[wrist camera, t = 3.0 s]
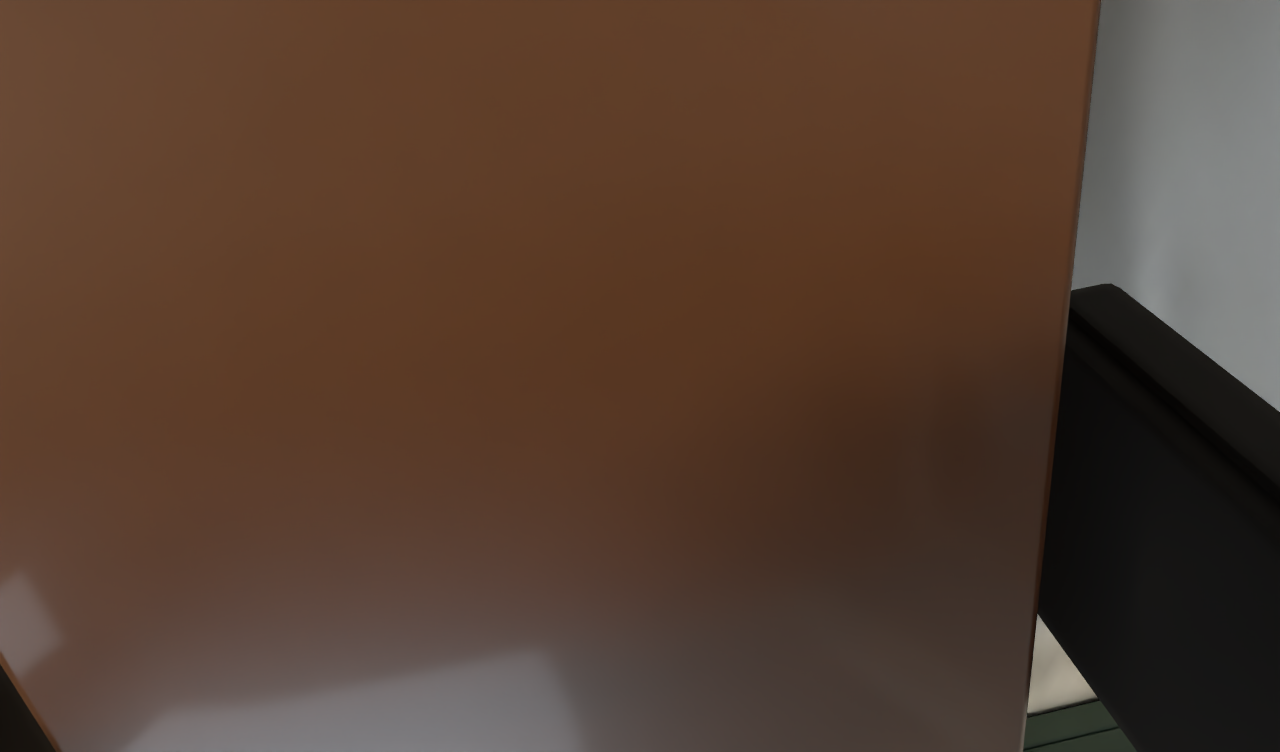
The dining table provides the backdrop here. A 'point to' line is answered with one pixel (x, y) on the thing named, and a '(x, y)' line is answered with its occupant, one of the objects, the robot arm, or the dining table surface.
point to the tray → (1076, 731)
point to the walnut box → (532, 370)
